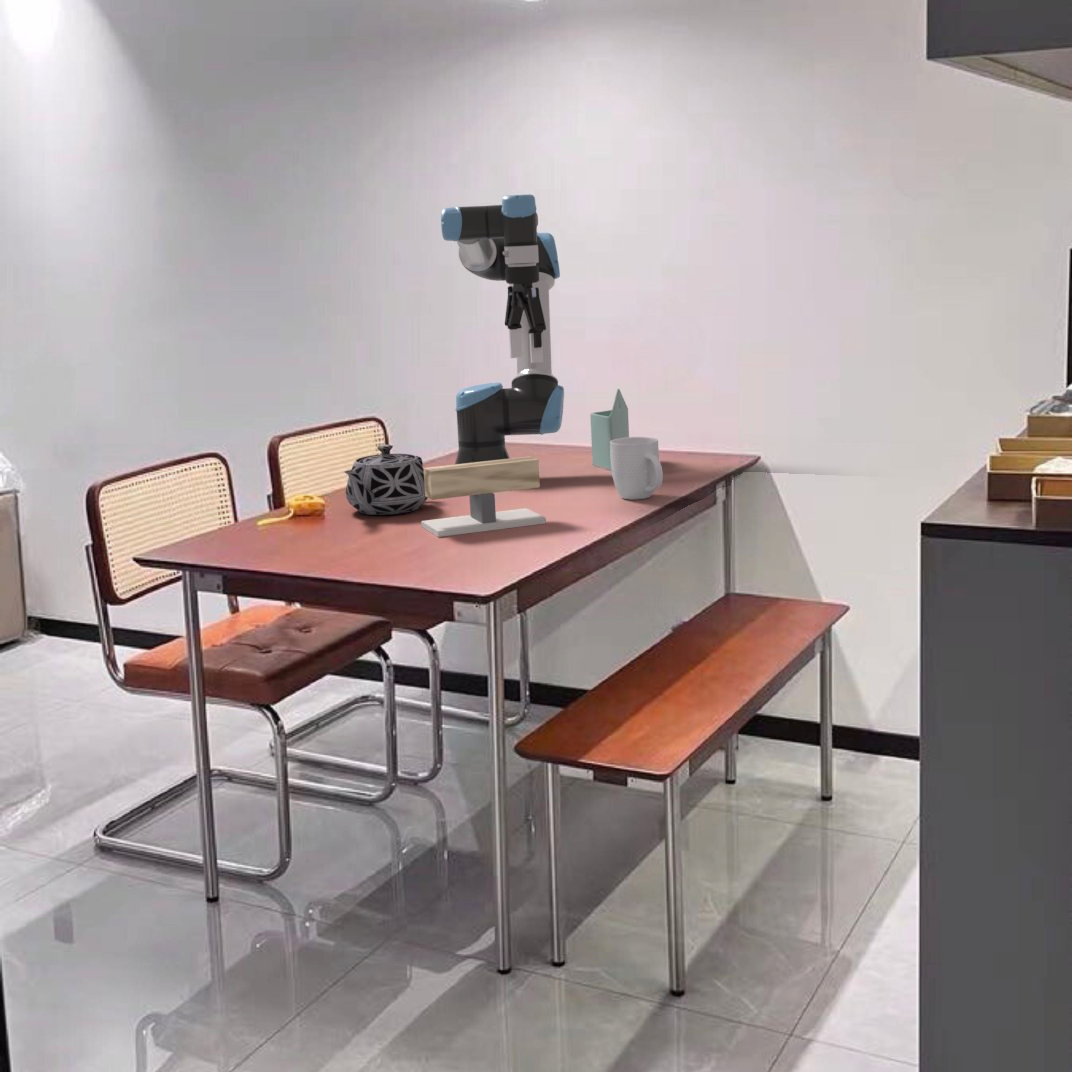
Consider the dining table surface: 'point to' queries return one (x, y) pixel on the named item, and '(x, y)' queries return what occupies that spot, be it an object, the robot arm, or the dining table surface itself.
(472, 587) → the dining table surface
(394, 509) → the teapot
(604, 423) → the planter
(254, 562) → the dining table surface
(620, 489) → the mug
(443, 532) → the fulcrum
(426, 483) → the wooden beam
